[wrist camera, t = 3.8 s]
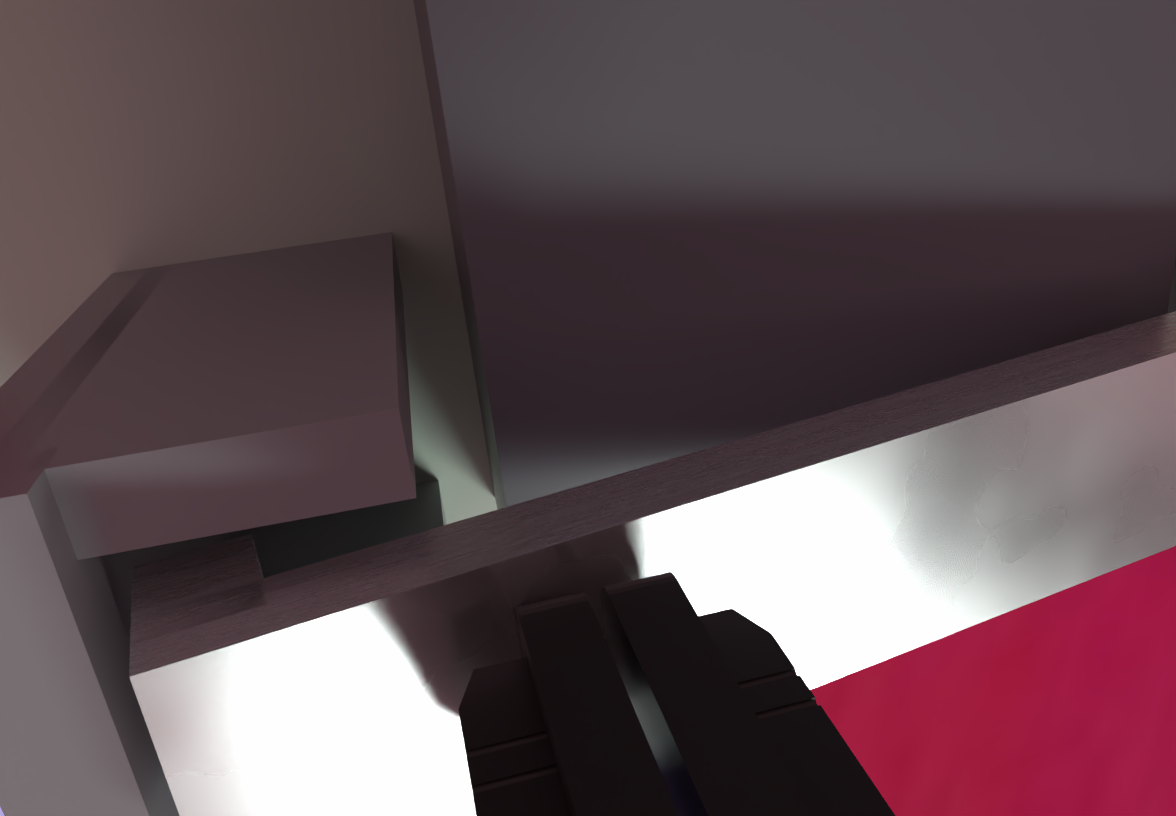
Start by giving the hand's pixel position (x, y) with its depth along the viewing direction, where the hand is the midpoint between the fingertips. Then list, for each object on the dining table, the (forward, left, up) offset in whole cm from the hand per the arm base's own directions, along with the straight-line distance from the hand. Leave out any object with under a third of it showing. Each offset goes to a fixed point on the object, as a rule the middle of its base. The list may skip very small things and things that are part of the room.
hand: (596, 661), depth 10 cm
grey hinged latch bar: (-3, 0, -3) cm, 4 cm away
